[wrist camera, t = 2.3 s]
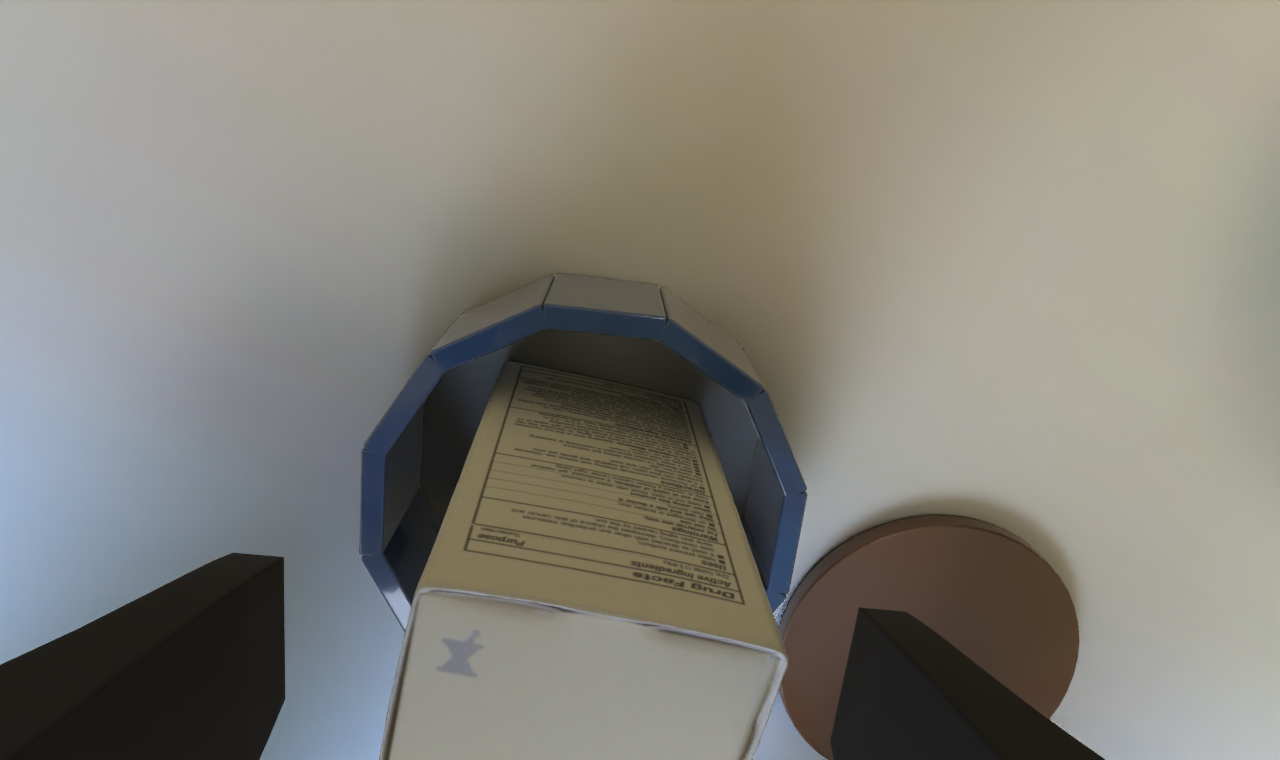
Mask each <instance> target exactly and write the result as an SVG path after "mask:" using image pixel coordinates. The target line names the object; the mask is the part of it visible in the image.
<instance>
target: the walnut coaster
mask: <svg viewBox="0 0 1280 760" xmlns="http://www.w3.org/2000/svg"><path fill="white" fill-rule="evenodd" d="M859 607H860V608H872V609H883V610H894V611H906V612H907V613H909V614H911V615H912V616H914V617H915V618H917V619H918V620H920V621H921V622H923V623H924V624H925V625H927V626H928V627H929V628H931V629H932V630H934V631H935V632H936V633H937V634H939V635H940V636H941V637H943V638H944V639H945V640H947V641H948V642H949V643H951V644H952V645H953V646H954V647H956V648H957V649H958V650H960V651H961V652H962V653H963V654H965V655H966V656H967V657H968V658H970V659H971V660H972V661H974V662H975V663H976V664H977V665H979V666H980V667H981V668H982V669H984V670H985V671H986V672H988V673H989V674H990V675H991V676H993V677H994V678H995V679H997V680H998V681H999V682H1000V683H1002V684H1003V685H1004V686H1005V687H1007V688H1008V689H1009V690H1011V691H1012V692H1013V693H1015V694H1016V695H1017V696H1018V697H1020V698H1021V699H1022V700H1024V701H1025V702H1026V703H1028V704H1029V705H1030V706H1032V707H1033V708H1034V709H1036V710H1037V711H1038V712H1040V713H1041V714H1042V715H1043V716H1045V717H1046V718H1048V719H1050V718H1051V716H1052V715H1053V713H1054V712H1055V711H1056V709H1057V708H1058V706H1059V705H1060V703H1061V701H1062V699H1063V698H1064V696H1065V694H1066V692H1067V690H1068V688H1069V685H1070V682H1071V680H1072V677H1073V675H1074V671H1075V667H1076V663H1077V658H1078V648H1079V630H1078V621H1077V617H1076V612H1075V608H1074V605H1073V602H1072V600H1071V597H1070V595H1069V592H1068V590H1067V588H1066V587H1065V585H1064V583H1063V582H1062V580H1061V578H1060V577H1059V575H1058V574H1057V573H1056V572H1055V571H1054V569H1053V568H1052V567H1051V566H1050V565H1049V564H1048V562H1047V561H1046V560H1045V559H1044V558H1043V557H1042V556H1041V555H1040V554H1039V553H1038V552H1036V551H1035V550H1034V549H1033V548H1032V547H1031V546H1030V545H1028V544H1027V543H1026V542H1025V541H1023V540H1021V539H1020V538H1018V537H1017V536H1015V535H1014V534H1012V533H1010V532H1008V531H1006V530H1004V529H1001V528H999V527H997V526H995V525H992V524H989V523H985V522H982V521H979V520H975V519H970V518H963V517H957V516H938V515H933V516H921V517H912V518H907V519H902V520H897V521H893V522H890V523H887V524H884V525H881V526H878V527H875V528H873V529H870V530H868V531H866V532H864V533H862V534H859V535H857V536H855V537H854V538H852V539H850V540H849V541H847V542H845V543H844V544H842V545H841V546H839V547H838V548H836V549H835V550H834V551H832V552H831V553H830V554H829V555H827V556H826V557H825V558H823V559H822V560H821V561H820V562H819V563H818V564H817V565H816V566H815V567H814V568H813V569H812V570H811V571H810V572H809V574H808V575H807V576H806V577H805V579H804V580H803V581H802V583H801V584H800V585H799V586H798V588H797V589H796V591H795V593H794V595H793V596H792V598H791V600H790V601H789V603H788V605H787V608H786V610H785V612H784V615H783V617H782V619H781V623H780V626H779V632H780V636H781V639H782V642H783V645H784V647H785V650H786V653H787V656H788V666H787V669H786V672H785V674H784V676H783V679H782V681H781V684H780V687H779V690H780V694H781V697H782V700H783V703H784V706H785V708H786V711H787V714H788V715H789V717H790V719H791V721H792V723H793V724H794V726H795V728H796V729H797V730H798V732H799V733H800V734H801V736H802V737H803V738H804V739H805V741H806V742H807V743H808V744H810V745H811V746H812V747H813V748H814V749H815V750H816V751H817V752H818V753H819V754H821V755H822V756H823V757H825V758H826V759H828V760H834V758H833V753H832V748H831V743H830V739H831V735H832V730H833V725H834V721H835V716H836V712H837V707H838V702H839V698H840V693H841V688H842V684H843V679H844V674H845V670H846V665H847V661H848V656H849V651H850V647H851V642H852V637H853V633H854V628H855V623H856V619H857V614H858V609H859Z"/></svg>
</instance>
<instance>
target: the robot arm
mask: <svg viewBox="0 0 1280 760" xmlns="http://www.w3.org/2000/svg"><path fill="white" fill-rule="evenodd" d="M284 700H285V640H284V557H276V556H264V555H253V554H242V553H231V554H229V555H226V556H224V557H221V558H219V559H217V560H215V561H212V562H210V563H208V564H206V565H204V566H202V567H200V568H198V569H196V570H194V571H192V572H189V573H187V574H185V575H183V576H181V577H180V578H178V579H176V580H174V581H172V582H170V583H168V584H166V585H164V586H162V587H160V588H158V589H156V590H154V591H152V592H150V593H148V594H146V595H144V596H142V597H140V598H138V599H136V600H134V601H132V602H130V603H128V604H126V605H124V606H122V607H121V608H119V609H117V610H115V611H113V612H111V613H109V614H107V615H105V616H103V617H101V618H99V619H97V620H95V621H93V622H91V623H89V624H87V625H85V626H83V627H81V628H79V629H77V630H75V631H73V632H70V633H68V634H66V635H64V636H62V637H60V638H57V639H55V640H53V641H51V642H49V643H47V644H45V645H42V646H40V647H38V648H36V649H34V650H32V651H29V652H27V653H25V654H23V655H21V656H19V657H16V658H14V659H12V660H10V661H8V662H6V663H3V664H1V665H0V760H259V759H260V757H261V755H262V752H263V750H264V748H265V746H266V743H267V741H268V739H269V736H270V734H271V731H272V729H273V727H274V724H275V722H276V719H277V717H278V715H279V712H280V710H281V707H282V705H283V703H284ZM830 743H831V748H832V753H833V758H834V760H1105V759H1104V758H1102V757H1101V756H1099V755H1098V754H1096V753H1095V752H1094V751H1092V750H1091V749H1089V748H1088V747H1086V746H1085V745H1084V744H1082V743H1081V742H1079V741H1078V740H1076V739H1075V738H1073V737H1072V736H1071V735H1069V734H1068V733H1067V732H1065V731H1064V730H1063V729H1061V728H1060V727H1058V726H1057V725H1056V724H1054V723H1053V722H1052V721H1050V720H1049V719H1048V718H1046V717H1045V716H1043V715H1042V714H1041V713H1040V712H1038V711H1037V710H1036V709H1034V708H1033V707H1032V706H1030V705H1029V704H1028V703H1026V702H1025V701H1024V700H1022V699H1021V698H1020V697H1018V696H1017V695H1016V694H1015V693H1013V692H1012V691H1011V690H1009V689H1008V688H1007V687H1005V686H1004V685H1003V684H1002V683H1000V682H999V681H998V680H997V679H995V678H994V677H993V676H991V675H990V674H989V673H988V672H986V671H985V670H984V669H982V668H981V667H980V666H979V665H977V664H976V663H975V662H974V661H972V660H971V659H970V658H968V657H967V656H966V655H965V654H963V653H962V652H961V651H960V650H958V649H957V648H956V647H954V646H953V645H952V644H951V643H949V642H948V641H947V640H945V639H944V638H943V637H941V636H940V635H939V634H937V633H936V632H935V631H934V630H932V629H931V628H929V627H928V626H927V625H925V624H924V623H923V622H921V621H920V620H918V619H917V618H915V617H914V616H912V615H911V614H909V613H907V612H906V611H894V610H883V609H872V608H860V607H859V609H858V614H857V619H856V623H855V628H854V633H853V637H852V642H851V647H850V651H849V656H848V661H847V665H846V670H845V674H844V679H843V684H842V688H841V693H840V698H839V702H838V707H837V712H836V716H835V721H834V725H833V730H832V735H831V739H830Z"/></svg>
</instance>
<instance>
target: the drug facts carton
mask: <svg viewBox="0 0 1280 760" xmlns="http://www.w3.org/2000/svg"><path fill="white" fill-rule="evenodd" d="M787 666H788V656H787V653H786V650H785V647H784V645H783V642H782V639H781V636H780V632H779V629H778V626H777V624H776V621H775V618H774V615H773V612H772V609H771V606H770V603H769V600H768V597H767V595H766V592H765V589H764V586H763V584H762V581H761V578H760V575H759V572H758V569H757V566H756V563H755V560H754V557H753V555H752V552H751V549H750V546H749V543H748V540H747V537H746V534H745V532H744V529H743V526H742V523H741V520H740V516H739V513H738V511H737V508H736V506H735V503H734V500H733V497H732V495H731V492H730V489H729V487H728V484H727V481H726V478H725V475H724V472H723V469H722V466H721V464H720V461H719V458H718V455H717V452H716V449H715V446H714V443H713V440H712V438H711V435H710V432H709V429H708V426H707V423H706V420H705V417H704V414H703V412H702V409H701V407H700V406H699V404H698V403H696V402H694V401H690V400H686V399H682V398H678V397H674V396H670V395H665V394H661V393H658V392H654V391H650V390H645V389H641V388H637V387H632V386H628V385H624V384H619V383H615V382H610V381H606V380H601V379H597V378H592V377H588V376H583V375H578V374H573V373H568V372H564V371H559V370H553V369H549V368H544V367H538V366H533V365H528V364H523V363H517V362H510V361H509V362H505V363H504V364H503V366H502V368H501V371H500V374H499V376H498V378H497V381H496V383H495V386H494V388H493V391H492V394H491V396H490V399H489V401H488V404H487V407H486V409H485V412H484V414H483V417H482V420H481V422H480V425H479V427H478V430H477V432H476V434H475V437H474V440H473V443H472V446H471V448H470V451H469V454H468V456H467V459H466V462H465V464H464V467H463V470H462V473H461V476H460V478H459V481H458V483H457V486H456V488H455V491H454V493H453V496H452V498H451V501H450V504H449V506H448V509H447V512H446V514H445V517H444V520H443V522H442V525H441V528H440V530H439V533H438V536H437V539H436V541H435V544H434V546H433V549H432V551H431V554H430V556H429V559H428V561H427V564H426V566H425V569H424V571H423V574H422V576H421V578H420V581H419V583H418V586H417V588H416V591H415V594H414V597H413V601H412V606H411V610H410V614H409V618H408V622H407V626H406V630H405V634H404V638H403V643H402V648H401V652H400V657H399V661H398V665H397V670H396V674H395V679H394V684H393V688H392V692H391V697H390V701H389V706H388V712H387V717H386V723H385V728H384V734H383V739H382V744H381V750H380V756H379V760H752V759H753V756H754V754H755V752H756V749H757V747H758V745H759V742H760V738H761V735H762V733H763V730H764V728H765V726H766V723H767V721H768V718H769V715H770V712H771V709H772V706H773V703H774V700H775V698H776V695H777V692H778V689H779V687H780V684H781V681H782V679H783V676H784V674H785V672H786V669H787Z"/></svg>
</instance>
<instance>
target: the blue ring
mask: <svg viewBox="0 0 1280 760" xmlns="http://www.w3.org/2000/svg"><path fill="white" fill-rule="evenodd" d="M544 329H555V330H564V331H574V332H583V333H592V334H601V335H611V336H620V337H629V338H639V339H648V340H657V341H660V342H661V343H663V344H664V345H665V346H667V347H668V348H670V349H671V350H672V351H674V352H675V353H677V354H678V355H679V356H681V357H682V358H684V359H685V360H686V361H688V362H689V363H690V364H692V365H693V366H695V367H696V368H697V369H699V370H700V371H702V372H703V373H704V374H706V375H707V376H708V377H710V378H711V379H713V380H714V381H715V382H717V383H718V384H720V385H721V386H722V387H724V388H725V389H727V390H728V391H729V392H731V393H732V394H733V395H735V396H736V397H738V398H739V399H740V400H742V401H743V403H744V405H745V407H746V410H747V412H748V415H749V417H750V419H751V422H752V424H753V427H754V429H755V431H756V434H757V436H758V439H757V445H756V450H755V456H754V462H753V468H752V474H751V480H750V486H749V492H748V498H747V504H746V510H745V516H744V518H743V519H742V520H741V523H742V526H743V529H744V532H745V534H746V537H747V540H748V543H749V546H750V549H751V552H752V555H753V557H754V560H755V563H756V566H757V569H758V572H759V575H760V578H761V581H762V584H763V586H764V589H765V592H766V595H767V597H768V600H769V603H770V606H771V609H772V612H774V611H775V610H776V608H777V607H778V606H779V605H780V604H781V603H782V602H783V601H784V600H785V598H786V594H787V593H788V592H789V589H790V584H791V579H792V573H793V568H794V563H795V558H796V553H797V547H798V542H799V537H800V532H801V526H802V521H803V516H804V511H805V505H806V500H807V492H806V490H807V487H806V484H805V482H804V479H803V477H802V475H801V472H800V470H799V467H798V465H797V462H796V460H795V457H794V455H793V452H792V450H791V447H790V445H789V442H788V440H787V438H786V435H785V433H784V430H783V428H782V425H781V423H780V420H779V418H778V415H777V413H776V410H775V408H774V405H773V403H772V401H771V398H770V396H769V393H768V391H767V389H766V387H765V386H764V384H763V382H762V380H761V379H760V377H759V375H758V373H757V371H756V370H755V368H754V366H753V364H752V362H751V361H750V359H749V357H748V355H747V354H746V352H745V350H744V349H743V348H742V347H741V345H740V343H739V342H737V341H736V340H734V339H733V338H732V337H730V336H729V335H728V334H726V333H725V332H724V331H722V330H721V329H720V328H718V327H717V326H715V325H714V324H713V323H711V322H710V321H709V320H707V319H706V318H705V317H703V316H702V315H701V314H699V313H698V312H697V311H695V310H694V309H692V308H691V307H690V306H688V305H687V304H686V303H684V302H683V301H682V300H680V299H679V298H678V297H676V296H675V295H673V294H672V293H671V292H669V291H668V290H667V289H665V288H664V287H660V288H659V286H658V285H657V284H649V283H640V282H632V281H623V280H614V279H605V278H596V277H587V276H578V275H569V274H560V273H558V274H556V277H555V276H554V275H549V276H547V277H545V278H542V279H540V280H538V281H535V282H533V283H531V284H529V285H526V286H524V287H522V288H519V289H517V290H515V291H513V292H510V293H508V294H506V295H503V296H501V297H499V298H497V299H494V300H492V301H490V302H487V303H485V304H483V305H481V306H478V307H476V308H474V309H471V310H469V311H467V312H465V313H463V314H462V315H461V316H460V317H458V318H457V319H456V320H455V321H454V322H453V323H452V325H451V326H450V327H449V328H448V329H447V331H446V332H445V333H444V334H443V335H442V336H441V338H440V339H439V340H438V341H437V342H436V344H435V345H434V346H433V347H432V348H431V350H430V351H429V352H428V353H427V354H426V356H425V357H424V358H423V360H422V361H421V363H420V364H419V365H418V367H417V368H416V370H415V371H414V373H413V374H412V376H411V377H410V378H409V380H408V381H407V383H406V384H405V386H404V387H403V389H402V390H401V391H400V393H399V394H398V396H397V397H396V399H395V400H394V401H393V403H392V404H391V406H390V407H389V409H388V410H387V412H386V413H385V414H384V416H383V417H382V419H381V420H380V422H379V423H378V424H377V426H376V427H375V429H374V430H373V432H372V433H371V435H370V436H369V437H368V439H367V440H366V442H365V443H364V448H363V449H362V452H361V497H360V543H359V553H360V555H362V557H361V559H362V561H363V563H364V565H365V566H366V568H367V570H368V571H369V573H370V575H371V576H372V578H373V580H374V581H375V583H376V585H377V586H378V588H379V590H380V591H381V593H382V595H383V596H384V598H385V600H386V601H387V603H388V605H389V606H390V608H391V610H392V611H393V613H394V615H395V616H396V618H397V620H398V621H399V623H400V625H401V626H402V628H403V630H404V631H405V630H406V626H407V622H408V618H409V614H410V610H411V606H412V601H413V597H414V594H415V591H416V588H417V586H418V583H419V581H420V578H421V576H422V574H423V571H424V569H425V566H426V564H427V561H428V559H429V556H430V554H431V551H432V549H433V546H434V544H435V541H436V539H437V536H438V533H439V530H440V528H441V525H442V524H441V523H440V521H439V519H438V517H437V515H436V514H435V512H434V510H433V508H432V506H431V505H430V503H429V501H428V499H427V497H426V496H425V494H424V492H423V490H422V488H421V487H420V478H421V456H422V433H423V411H424V402H425V401H426V399H427V398H428V396H429V395H430V393H431V392H432V391H433V389H434V388H435V386H436V385H437V384H438V382H439V381H440V379H441V378H442V376H443V375H444V374H445V372H447V371H449V370H451V369H454V368H456V367H458V366H461V365H463V364H465V363H468V362H470V361H472V360H475V359H477V358H479V357H482V356H484V355H486V354H489V353H491V352H493V351H496V350H498V349H500V348H502V347H505V346H507V345H509V344H512V343H514V342H516V341H519V340H521V339H523V338H526V337H528V336H530V335H533V334H535V333H537V332H540V331H542V330H544ZM785 593H786V594H785Z"/></svg>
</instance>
